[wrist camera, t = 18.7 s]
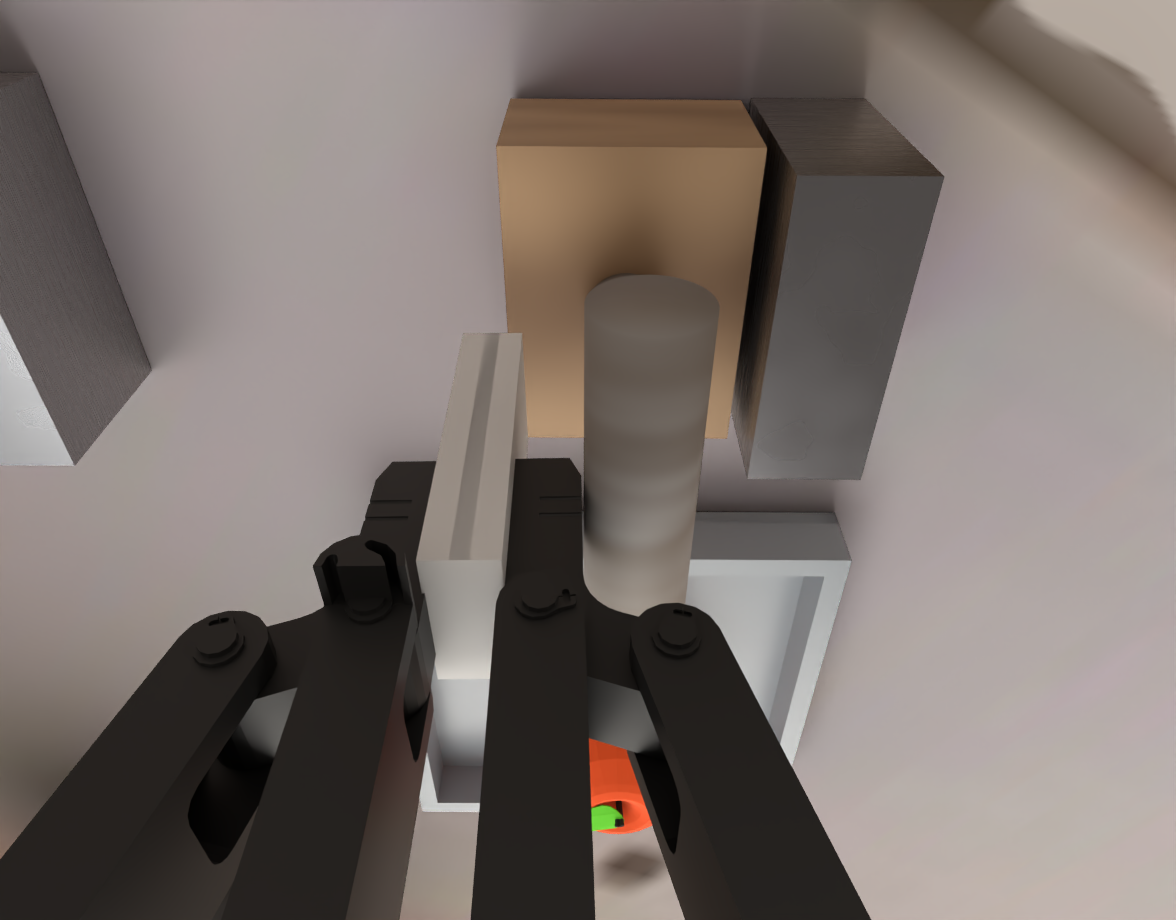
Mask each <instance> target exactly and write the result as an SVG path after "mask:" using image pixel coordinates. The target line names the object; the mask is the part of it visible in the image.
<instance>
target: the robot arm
mask: <svg viewBox="0 0 1176 920" xmlns="http://www.w3.org/2000/svg"><path fill="white" fill-rule="evenodd" d="M527 448H528V428H527V411H526V393H525V375H524V358H523V340H522V333H463V337H462V342H461V346H460V351H459V356H458V361H457V366H456V370H455V375H454V380H453V385H452V390H451V394H450V399H449V404H448V409H447V414H446V418H445V423H444V428H443V433H442V438H441V442H440V447H439V452H438V457H437V461H426V462H392V463H391V464H390V465H389V467H388V468H387V469H386V470H385V471H384V472H383V473H382V474H381V475H380V476H379V477H378V478H377V480H376V482H375V485H374V489H373V492H372V496H371V499H370V504H369V506H368V509H367V513H366V516H365V521H364V523H363V526H362V529H361V533H360V535H358V536H351V537H348V538H346V539H343V540H341V541H339V542H336V543H334V544H333V545H331V546H330V547H329V548H327V549H326V550H325V551H323V552H322V553H321V554H320V556H319V557H318V559H317V560H316V562H315V563H314V565H313V569H314V572H315V575H316V579H317V582H318V585H319V589H320V592H321V596H322V599H323V602H324V607H323V608H321V609H319V610H317V611H316V612H314V613H312V614H309V615H306V616H304V617H301V618H298V619H294V620H291V621H287V622H283V623H279V624H276V625H272V626H268V627H267V626H266V625H265V624H264V623H263V621H262V620H261V619H260V618H259V617H258V616H256V615H253V614H251V613H248V612H246V611H226V612H222V613H218V614H214V615H210V616H208V617H206V618H204V619H203V620H201V621H199V622H197V623H195V624H193V625H192V626H191V627H190V628H189V629H187V630H186V631H185V632H184V633H183V634H182V635H181V636H180V637H179V638H178V639H177V640H176V642H175V643H174V644H173V645H172V647H171V648H170V649H169V650H168V652H167V653H166V654H165V655H164V657H163V658H162V659H161V660H160V661H159V663H158V664H157V665H156V666H155V668H154V669H153V670H152V671H151V673H150V674H149V675H148V676H147V678H146V679H145V680H144V681H143V683H142V684H141V685H140V686H139V688H138V689H137V690H136V691H135V693H134V694H133V695H132V696H131V698H130V699H129V700H128V701H127V703H126V704H125V705H124V706H123V707H122V709H121V710H120V711H119V712H118V714H117V715H116V716H115V717H114V719H113V720H112V721H111V722H110V724H109V725H108V726H107V727H106V729H105V730H104V731H103V732H102V734H101V735H100V736H99V737H98V739H97V740H96V741H95V742H94V744H93V745H92V746H91V747H90V749H89V750H88V751H87V752H86V753H85V755H84V756H83V757H82V758H81V760H80V761H79V762H78V763H77V765H76V766H75V767H74V768H73V770H72V771H71V772H70V773H69V775H68V776H67V777H66V778H65V780H64V781H63V782H62V783H61V785H60V786H59V787H58V788H57V790H56V791H55V792H54V793H53V795H52V796H51V797H50V798H49V799H48V801H47V802H46V803H45V804H44V806H43V807H42V808H41V809H40V811H39V812H38V813H37V814H36V816H35V817H34V818H33V819H32V821H31V822H30V823H29V824H28V826H27V827H26V828H25V829H24V831H23V832H22V833H21V834H20V836H19V837H18V838H17V839H16V840H15V842H14V843H13V844H12V845H11V847H10V848H9V849H8V850H7V852H6V853H5V854H4V855H3V857H2V858H1V859H0V920H399V918H400V912H401V905H402V899H403V893H404V887H405V881H406V875H407V869H408V863H409V857H410V851H411V845H412V839H413V833H414V827H415V821H416V815H417V809H418V803H419V797H420V791H421V785H422V779H423V773H424V766H425V760H426V754H427V748H428V742H429V736H430V730H431V724H432V718H433V712H434V706H433V695H432V690H431V682H432V676H433V669H434V663H435V667H436V673H437V678H438V679H490V683H489V695H488V708H487V720H486V733H485V746H484V758H483V771H482V783H481V796H480V809H479V821H478V834H477V846H476V859H475V871H474V884H473V897H472V909H471V920H595V900H594V871H593V842H592V813H591V784H590V755H589V738H590V739H593V740H596V741H600V742H603V743H606V744H610V745H613V746H616V747H620V748H623V749H626V750H627V754H628V757H629V760H630V763H631V766H632V768H633V771H634V774H635V777H636V780H637V783H638V786H639V788H640V791H641V794H642V797H643V800H644V803H645V806H646V809H647V811H648V814H649V817H650V820H651V823H652V826H653V829H654V832H655V834H656V837H657V840H658V843H659V846H660V849H661V852H662V854H663V857H664V860H665V863H666V866H667V869H668V872H669V875H670V877H671V880H672V883H673V886H674V889H675V892H676V895H677V897H678V900H679V903H680V906H681V909H682V912H683V915H684V918H685V920H871V919H870V917H869V915H868V913H867V911H866V909H865V907H864V905H863V903H862V901H861V899H860V897H859V895H858V893H857V892H856V890H855V888H854V886H853V884H852V882H851V880H850V878H849V876H848V874H847V872H846V870H845V868H844V866H843V865H842V863H841V861H840V859H839V857H838V855H837V853H836V851H835V849H834V847H833V845H832V843H831V841H830V839H829V838H828V836H827V834H826V832H825V830H824V828H823V826H822V824H821V822H820V820H819V818H818V816H817V814H816V812H815V811H814V809H813V807H812V805H811V803H810V801H809V799H808V797H807V795H806V793H805V791H804V789H803V787H802V785H801V784H800V782H799V780H798V778H797V776H796V774H795V772H794V770H793V768H792V766H791V764H790V762H789V760H788V759H787V757H786V755H785V753H784V751H783V749H782V747H781V745H780V743H779V741H778V739H777V737H776V735H775V733H774V732H773V730H772V728H771V726H770V724H769V722H768V720H767V718H766V716H765V714H764V712H763V710H762V708H761V706H760V705H759V703H758V701H757V699H756V697H755V695H754V693H753V691H752V689H751V687H750V685H749V683H748V681H747V679H746V678H745V676H744V674H743V672H742V670H741V668H740V666H739V664H738V662H737V660H736V658H735V656H734V654H733V652H732V651H731V649H730V647H729V645H728V643H727V641H726V639H725V637H724V635H723V633H722V631H721V629H720V628H719V626H718V625H717V624H716V623H715V621H714V620H713V619H712V618H711V616H710V615H708V614H707V613H705V612H703V611H702V610H700V609H698V608H697V607H694V606H690V605H686V604H682V603H662V604H659V605H656V606H654V607H651V608H649V609H646V610H645V611H644V612H643V613H642V614H641V615H640V616H639V617H638V616H634V615H631V614H627V613H623V612H620V611H617V610H614V609H611V608H609V607H607V606H605V605H604V604H602V603H601V602H599V601H598V600H597V599H596V598H595V597H594V596H593V595H592V594H591V593H590V592H589V590H588V588H587V586H586V584H585V581H584V575H583V537H582V488H581V475H580V473H579V472H578V470H577V469H576V467H575V466H574V464H573V463H572V461H571V460H570V458H537V459H527Z"/></svg>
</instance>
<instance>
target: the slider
mask: <svg viewBox="0 0 1176 920" xmlns="http://www.w3.org/2000/svg"><path fill="white" fill-rule="evenodd" d="M496 149H497V165H498V181H499V197H500V214H501V230H502V246H503V262H504V278H505V294H506V310H507V326H508V333H522V340H523V358H524V375H525V393H526V411H527V428H528V437H563V438H584V581H585V584H586V586H587V588H588V590H589V592H590V593H591V594H592V595H593V596H594V597H595V598H596V599H597V600H598V601H599V602H601V603H602V604H604V605H605V606H607V607H609V608H611V609H614V610H617V611H620V612H623V613H627V614H631V615H634V616H638V617H639V616H640V615H641V614H642V613H643V612H644V611H645V610H646V609H649V608H651V607H654V606H656V605H659V604H662V603H682V604H685V601H686V592H687V584H688V575H689V566H690V558H691V549H692V541H693V532H694V524H695V515H696V507H697V498H698V490H699V481H700V473H701V464H702V456H703V447H704V439H705V438H719V439H727V435H728V428H729V420H730V413H731V406H732V399H733V392H734V384H735V377H736V370H737V363H738V355H739V348H740V341H741V334H742V327H743V319H744V312H745V305H746V298H747V290H748V283H749V276H750V269H751V262H752V254H753V247H754V240H755V233H756V226H757V218H758V211H759V204H760V197H761V189H762V182H763V175H764V168H765V161H766V153H767V147H766V145H765V143H764V141H763V139H762V138H761V136H760V134H759V132H758V130H757V128H756V127H755V125H754V123H753V121H752V119H751V118H750V116H749V114H748V112H747V110H746V109H745V107H744V105H743V103H742V101H741V100H647V99H510V102H509V105H508V109H507V112H506V115H505V119H504V122H503V125H502V129H501V132H500V135H499V139H498V142H497V145H496Z"/></svg>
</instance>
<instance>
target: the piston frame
mask: <svg viewBox="0 0 1176 920" xmlns="http://www.w3.org/2000/svg"><path fill="white" fill-rule="evenodd" d="M749 116H750V118H751V119H752V121H753V123H754V125H755V127H756V128H757V130H758V132H759V134H760V136H761V138H762V139H763V141H764V143H765V145H766V147H767V153H766V161H765V168H764V175H763V182H762V189H761V197H760V204H759V211H758V218H757V226H756V233H755V240H754V247H753V254H752V262H751V269H750V276H749V283H748V290H747V298H746V305H745V312H744V319H743V327H742V334H741V341H740V348H739V355H738V363H737V370H736V377H735V384H734V392H733V399H732V406H731V413H732V417H733V421H734V425H735V430H736V434H737V438H738V442H739V446H740V450H741V455H742V459H743V463H744V467H745V471H746V475H747V479H821V480H861V477H862V473H863V469H864V466H865V462H866V458H867V455H868V451H869V448H870V444H871V440H872V437H873V433H874V429H875V426H876V422H877V419H878V415H879V411H880V408H881V404H882V400H883V397H884V393H885V390H886V386H887V382H888V379H889V375H890V371H891V368H892V364H893V361H894V357H895V353H896V350H897V346H898V342H899V339H900V335H901V332H902V328H903V324H904V321H905V317H906V313H907V310H908V306H909V303H910V299H911V295H912V292H913V288H914V284H915V281H916V277H917V274H918V270H919V266H920V263H921V259H922V255H923V252H924V248H925V244H926V241H927V237H928V234H929V230H930V226H931V223H932V219H933V215H934V212H935V208H936V205H937V201H938V197H939V194H940V190H941V186H942V183H943V179H944V176H943V175H942V174H941V173H940V172H939V171H938V170H937V169H936V168H935V167H934V166H933V165H932V164H931V163H930V162H929V161H928V160H927V159H926V158H925V157H924V156H923V155H922V154H921V153H920V152H919V151H918V150H917V149H916V148H915V147H914V146H913V145H912V144H911V143H910V142H909V141H908V140H907V139H906V138H905V137H904V136H903V135H902V134H901V133H900V132H899V131H898V130H897V129H896V128H895V127H893V126H892V125H891V124H890V123H889V122H888V121H887V120H886V119H885V118H884V117H883V116H882V115H881V114H880V113H879V112H878V111H877V110H876V109H875V108H874V107H873V106H872V105H871V104H870V103H869V102H868V101H867V100H866V99H794V98H751V105H750V113H749ZM150 372H151V368H150V365H149V363H148V360H147V357H146V355H145V352H144V350H143V347H142V344H141V342H140V339H139V336H138V334H137V331H136V329H135V326H134V323H133V321H132V318H131V315H130V313H129V310H128V308H127V305H126V302H125V300H124V297H123V294H122V292H121V289H120V287H119V284H118V281H117V279H116V276H115V273H114V271H113V268H112V266H111V263H110V260H109V258H108V255H107V253H106V250H105V247H104V245H103V242H102V239H101V237H100V234H99V232H98V229H97V226H96V224H95V221H94V218H93V216H92V213H91V211H90V208H89V205H88V203H87V200H86V197H85V195H84V192H83V190H82V187H81V184H80V182H79V179H78V176H77V174H76V171H75V169H74V166H73V163H72V161H71V158H70V156H69V153H68V150H67V148H66V145H65V142H64V140H63V137H62V135H61V132H60V129H59V127H58V124H57V121H56V119H55V116H54V114H53V111H52V108H51V106H50V103H49V100H48V98H47V95H46V93H45V90H44V87H43V85H42V82H41V79H40V77H39V74H38V73H6V72H0V465H9V466H75V465H76V464H77V462H78V461H79V460H80V459H81V457H82V456H83V455H84V454H85V452H86V451H87V450H88V449H89V448H90V446H91V445H92V444H93V443H94V441H95V440H96V439H97V438H98V436H99V435H100V434H101V433H102V432H103V430H104V429H105V428H106V427H107V425H108V424H109V423H110V422H111V420H112V419H113V418H114V417H115V415H116V414H117V413H118V412H119V411H120V409H121V408H122V407H123V406H124V404H125V403H126V402H127V401H128V399H129V398H130V397H131V396H132V395H133V393H134V392H135V391H136V390H137V388H138V387H139V386H140V385H141V383H142V382H143V381H144V380H145V378H146V377H147V376H148V375H149V374H150Z"/></svg>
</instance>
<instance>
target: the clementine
mask: <svg viewBox="0 0 1176 920" xmlns="http://www.w3.org/2000/svg"><path fill="white" fill-rule="evenodd" d="M589 755H590V784H591V813H592V831H598V832H603V833H609V834H625V833H632V832H636V831H640V830H642V829H645V828H647V827H650V826H652V823H651V820H650V817H649V814H648V811H647V809H646V806H645V803H644V800H643V797H642V794H641V791H640V788H639V786H638V783H637V780H636V777H635V774H634V771H633V768H632V766H631V763H630V760H629V757H628V754H627V750H626V749H623V748H620V747H616V746H613V745H610V744H606V743H603V742H600V741H596V740H593V739H590V738H589Z"/></svg>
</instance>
